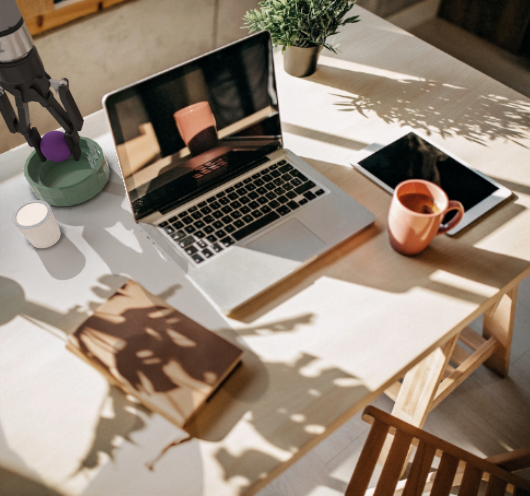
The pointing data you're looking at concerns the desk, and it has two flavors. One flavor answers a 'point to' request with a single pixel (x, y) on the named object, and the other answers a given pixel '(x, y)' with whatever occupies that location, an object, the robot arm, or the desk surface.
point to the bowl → (68, 175)
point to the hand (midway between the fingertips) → (61, 156)
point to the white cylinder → (37, 223)
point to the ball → (55, 146)
